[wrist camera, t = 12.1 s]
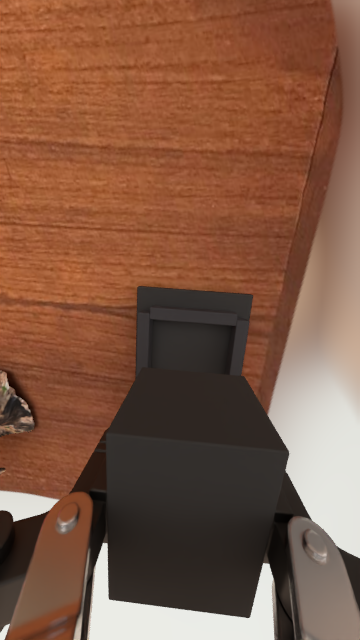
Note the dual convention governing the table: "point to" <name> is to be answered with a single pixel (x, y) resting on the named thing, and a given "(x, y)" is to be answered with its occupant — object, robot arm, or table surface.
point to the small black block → (190, 492)
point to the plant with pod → (12, 411)
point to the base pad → (191, 330)
